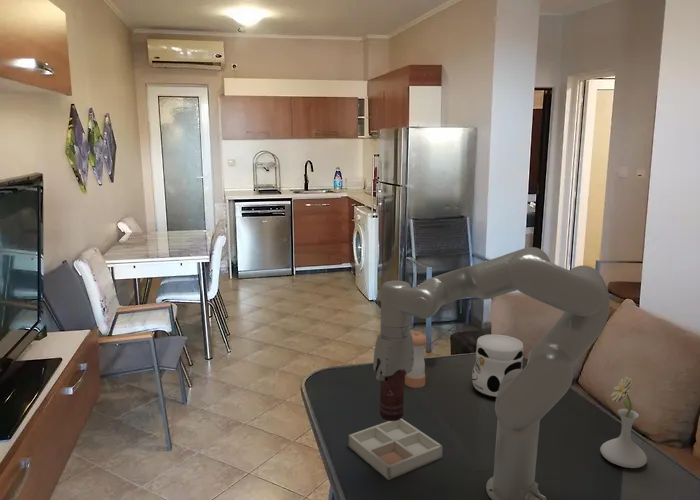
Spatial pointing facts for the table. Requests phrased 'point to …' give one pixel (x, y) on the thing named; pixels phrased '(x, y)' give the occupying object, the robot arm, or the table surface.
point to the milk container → (495, 361)
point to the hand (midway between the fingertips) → (393, 397)
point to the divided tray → (395, 447)
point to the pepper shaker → (417, 363)
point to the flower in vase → (624, 433)
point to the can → (392, 396)
